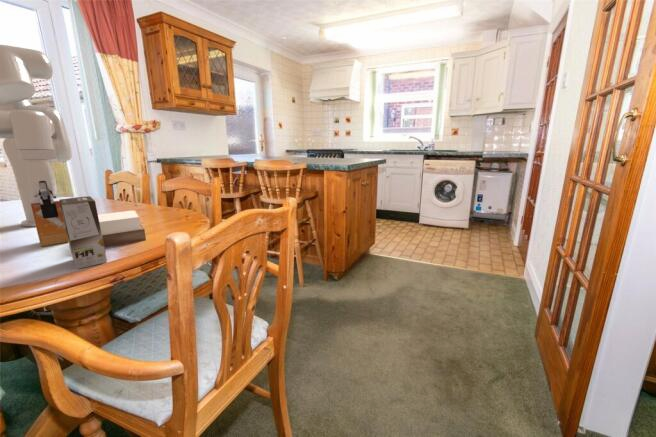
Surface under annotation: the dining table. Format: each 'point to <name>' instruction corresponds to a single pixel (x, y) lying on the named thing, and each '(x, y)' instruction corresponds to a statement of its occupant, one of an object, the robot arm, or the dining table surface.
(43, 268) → the dining table surface
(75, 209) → the coffee box
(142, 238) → the base block
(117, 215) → the top block
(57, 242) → the small box
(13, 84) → the robot arm
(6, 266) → the dining table surface
